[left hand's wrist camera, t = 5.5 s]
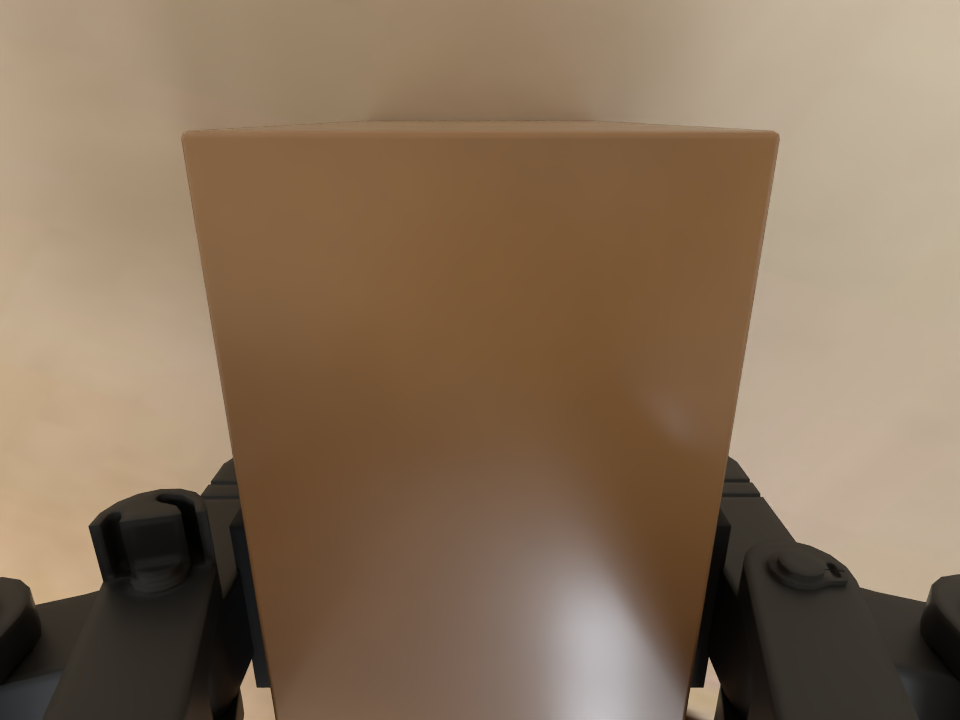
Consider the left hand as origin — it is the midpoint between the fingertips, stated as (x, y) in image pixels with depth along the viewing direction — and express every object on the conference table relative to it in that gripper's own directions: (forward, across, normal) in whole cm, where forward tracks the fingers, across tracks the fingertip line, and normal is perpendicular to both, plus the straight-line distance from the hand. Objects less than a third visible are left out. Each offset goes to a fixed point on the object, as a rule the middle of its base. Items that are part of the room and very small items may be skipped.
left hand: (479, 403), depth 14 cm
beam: (+1, 0, -34) cm, 34 cm away
